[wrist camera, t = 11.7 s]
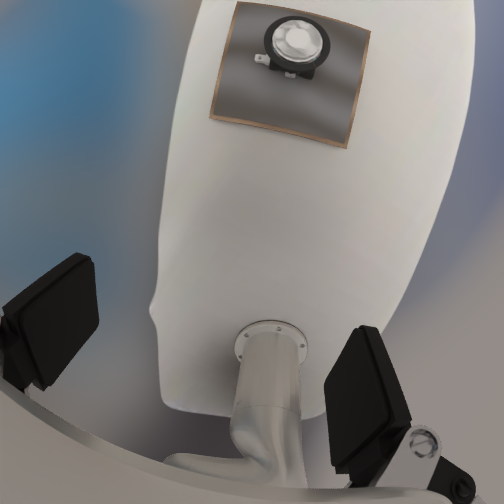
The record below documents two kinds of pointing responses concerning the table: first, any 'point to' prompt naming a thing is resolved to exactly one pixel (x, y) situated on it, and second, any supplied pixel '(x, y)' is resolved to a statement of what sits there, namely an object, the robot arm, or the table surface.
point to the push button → (295, 46)
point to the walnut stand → (290, 79)
